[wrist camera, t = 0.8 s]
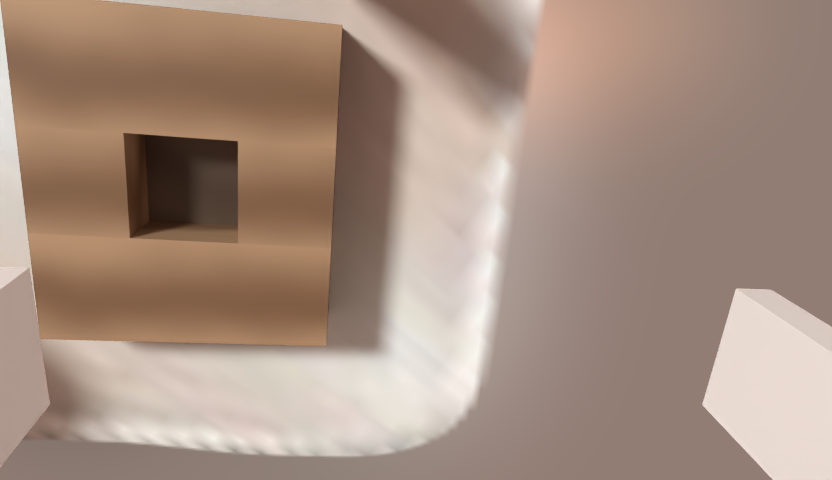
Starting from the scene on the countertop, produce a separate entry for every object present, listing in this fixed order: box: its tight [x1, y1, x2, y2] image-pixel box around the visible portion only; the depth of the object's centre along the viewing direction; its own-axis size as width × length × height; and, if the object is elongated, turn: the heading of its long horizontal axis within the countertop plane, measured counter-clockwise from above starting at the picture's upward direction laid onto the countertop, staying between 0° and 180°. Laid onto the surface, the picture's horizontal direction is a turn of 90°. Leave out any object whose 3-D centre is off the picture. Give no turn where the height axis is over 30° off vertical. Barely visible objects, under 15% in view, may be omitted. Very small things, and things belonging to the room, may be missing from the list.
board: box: [0, 0, 342, 346], centre depth 29 cm, size 16×14×4 cm
